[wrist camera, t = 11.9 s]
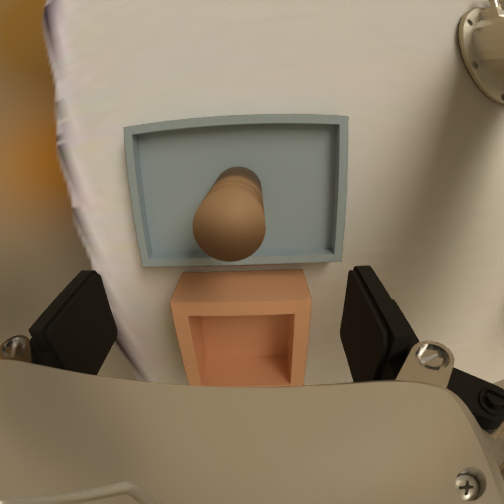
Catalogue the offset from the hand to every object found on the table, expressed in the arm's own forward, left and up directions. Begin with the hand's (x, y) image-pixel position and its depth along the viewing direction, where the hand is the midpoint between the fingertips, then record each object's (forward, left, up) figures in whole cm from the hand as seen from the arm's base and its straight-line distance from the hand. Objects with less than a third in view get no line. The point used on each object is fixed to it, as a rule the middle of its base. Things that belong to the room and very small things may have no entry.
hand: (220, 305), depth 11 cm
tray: (0, 0, -20) cm, 20 cm away
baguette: (0, 0, -19) cm, 19 cm away
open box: (+16, 0, -20) cm, 26 cm away
